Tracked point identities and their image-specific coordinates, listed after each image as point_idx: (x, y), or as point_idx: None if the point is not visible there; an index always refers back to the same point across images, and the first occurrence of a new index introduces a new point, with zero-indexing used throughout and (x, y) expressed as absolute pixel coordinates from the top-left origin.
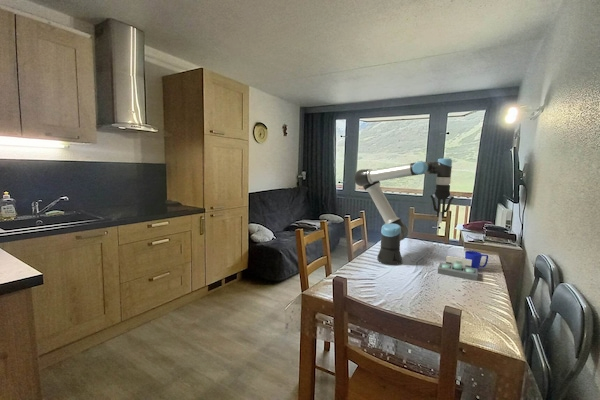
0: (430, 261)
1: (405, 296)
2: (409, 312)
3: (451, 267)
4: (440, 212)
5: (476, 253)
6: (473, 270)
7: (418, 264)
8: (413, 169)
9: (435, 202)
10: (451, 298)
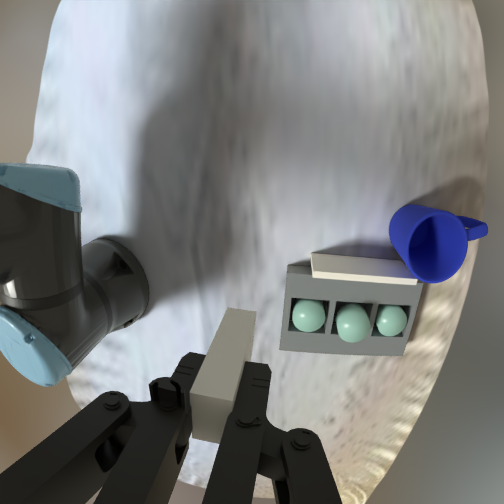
0: (245, 205)
1: None
2: None
3: (329, 319)
4: (209, 437)
5: (452, 221)
6: (402, 324)
7: (204, 272)
8: None
9: (42, 493)
10: None
